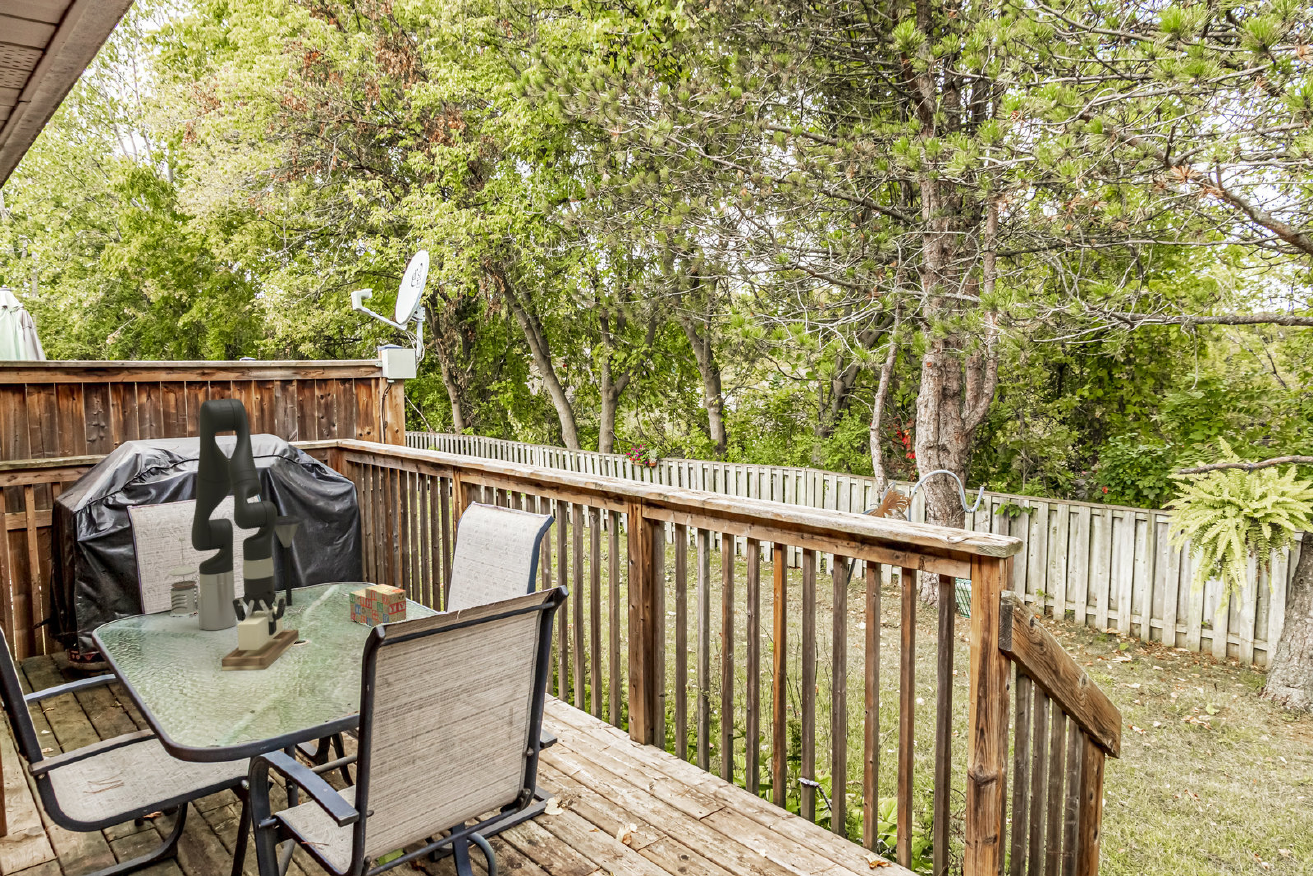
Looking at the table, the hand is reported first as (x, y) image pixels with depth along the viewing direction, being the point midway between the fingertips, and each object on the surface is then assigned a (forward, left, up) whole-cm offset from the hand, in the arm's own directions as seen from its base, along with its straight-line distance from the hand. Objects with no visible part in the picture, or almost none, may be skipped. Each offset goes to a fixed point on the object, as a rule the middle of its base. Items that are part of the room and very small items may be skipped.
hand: (261, 634), depth 217 cm
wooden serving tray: (0, 0, -6) cm, 6 cm away
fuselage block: (0, 0, -2) cm, 2 cm away
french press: (-41, +43, -6) cm, 59 cm away
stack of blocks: (+25, +24, -6) cm, 35 cm away
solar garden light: (-11, +48, -6) cm, 50 cm away
